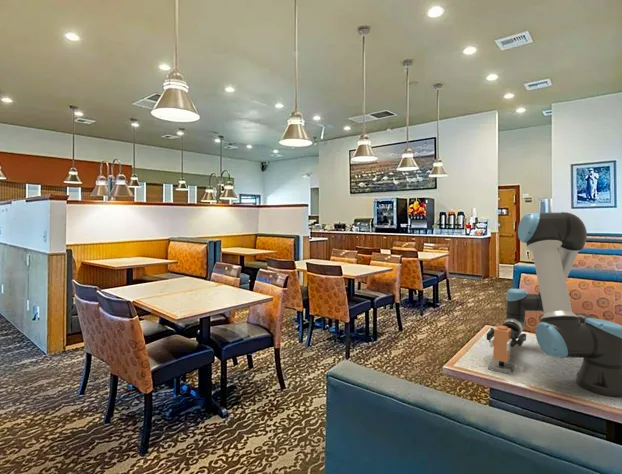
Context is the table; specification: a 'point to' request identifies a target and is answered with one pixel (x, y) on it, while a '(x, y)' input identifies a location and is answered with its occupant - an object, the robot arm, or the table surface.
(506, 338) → the orange capped block
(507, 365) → the junction plate
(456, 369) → the table surface
